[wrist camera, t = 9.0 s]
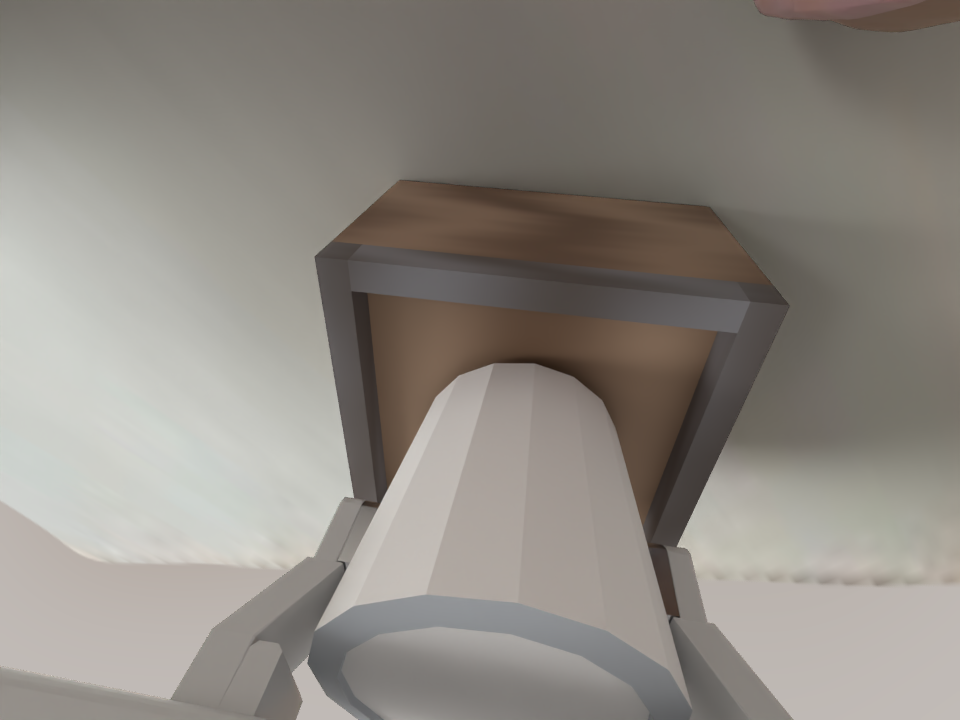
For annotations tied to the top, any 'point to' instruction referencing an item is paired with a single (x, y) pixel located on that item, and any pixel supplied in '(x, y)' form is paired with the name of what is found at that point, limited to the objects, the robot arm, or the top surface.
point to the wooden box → (548, 323)
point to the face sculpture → (867, 12)
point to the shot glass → (504, 570)
